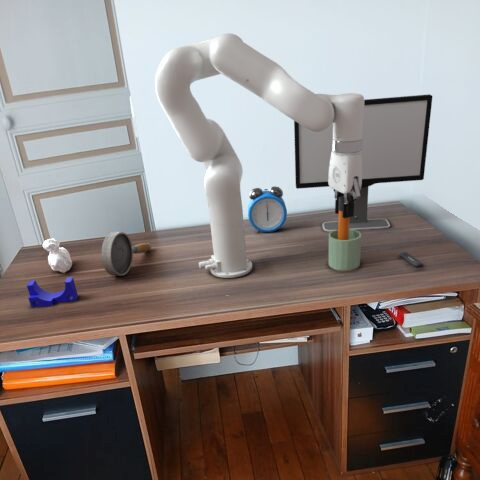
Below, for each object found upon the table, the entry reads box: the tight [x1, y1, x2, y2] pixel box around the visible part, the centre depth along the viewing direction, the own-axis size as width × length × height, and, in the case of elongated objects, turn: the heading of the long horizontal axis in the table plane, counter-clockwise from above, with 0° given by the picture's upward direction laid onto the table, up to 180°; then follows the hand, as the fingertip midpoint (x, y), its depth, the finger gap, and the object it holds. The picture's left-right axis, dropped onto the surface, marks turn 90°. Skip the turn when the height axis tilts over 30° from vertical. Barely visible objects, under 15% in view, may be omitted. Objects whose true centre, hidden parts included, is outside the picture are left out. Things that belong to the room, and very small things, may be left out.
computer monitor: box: [293, 93, 433, 233], centre depth 163 cm, size 41×8×40 cm, turn 88°
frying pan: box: [100, 231, 152, 277], centre depth 157 cm, size 13×3×25 cm
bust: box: [41, 237, 73, 274], centre depth 159 cm, size 12×8×11 cm
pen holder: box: [327, 229, 362, 271], centre depth 145 cm, size 9×9×10 cm
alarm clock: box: [247, 185, 288, 234], centre depth 172 cm, size 13×6×15 cm, turn 91°
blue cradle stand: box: [26, 276, 79, 308], centre depth 140 cm, size 12×4×6 cm, turn 92°
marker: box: [337, 195, 350, 240], centre depth 140 cm, size 3×3×14 cm
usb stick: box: [398, 251, 424, 269], centre depth 144 cm, size 10×3×2 cm, turn 14°
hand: (344, 214), depth 139 cm, fingers closed on marker, 3 cm apart
